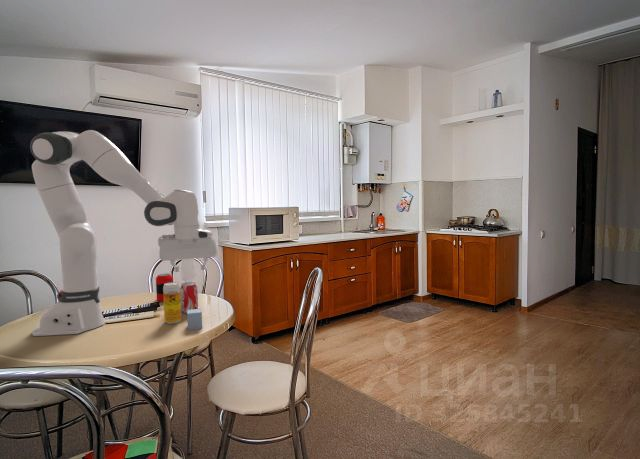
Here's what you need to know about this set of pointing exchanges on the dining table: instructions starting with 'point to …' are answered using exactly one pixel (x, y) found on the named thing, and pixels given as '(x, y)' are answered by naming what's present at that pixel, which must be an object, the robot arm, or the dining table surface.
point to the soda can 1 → (162, 285)
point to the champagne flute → (188, 270)
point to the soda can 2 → (189, 296)
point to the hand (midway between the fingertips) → (190, 270)
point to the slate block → (194, 318)
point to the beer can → (172, 302)
